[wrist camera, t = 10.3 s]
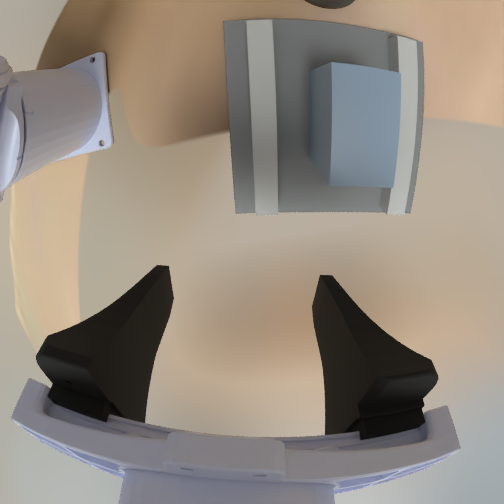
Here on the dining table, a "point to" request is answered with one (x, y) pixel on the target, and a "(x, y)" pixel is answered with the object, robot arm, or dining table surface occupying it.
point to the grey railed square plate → (297, 113)
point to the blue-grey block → (354, 124)
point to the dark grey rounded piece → (331, 3)
